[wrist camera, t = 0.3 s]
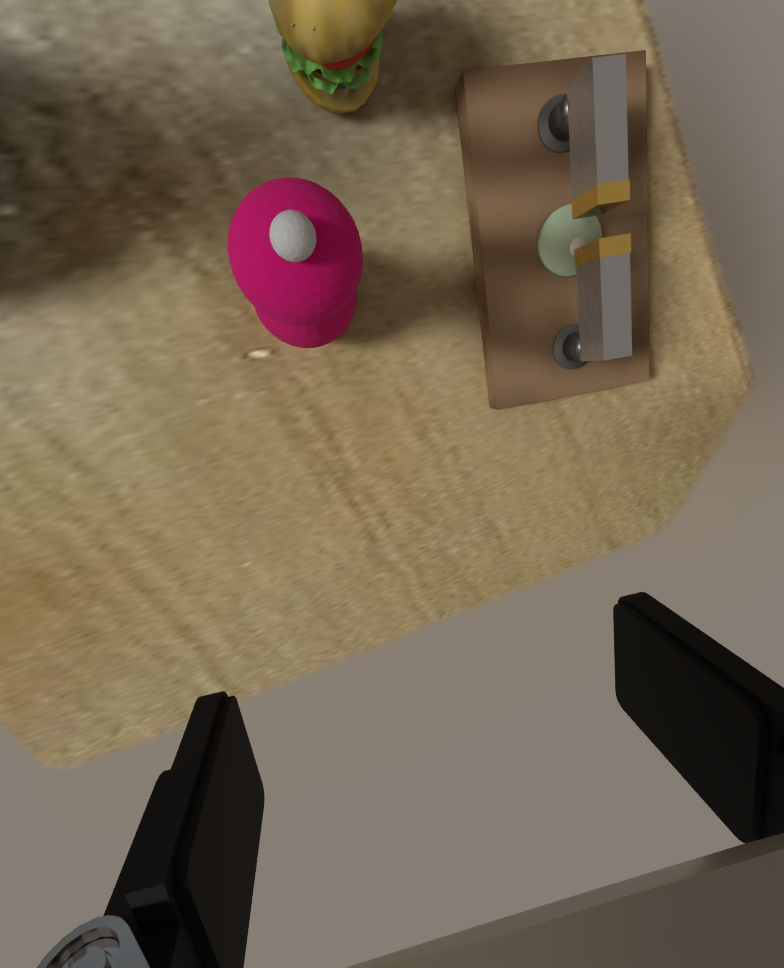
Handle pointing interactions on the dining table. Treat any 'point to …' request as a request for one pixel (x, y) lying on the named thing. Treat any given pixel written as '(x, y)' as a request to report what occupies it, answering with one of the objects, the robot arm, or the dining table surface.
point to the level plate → (543, 230)
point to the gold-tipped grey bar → (596, 135)
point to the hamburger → (333, 47)
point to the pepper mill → (297, 260)
